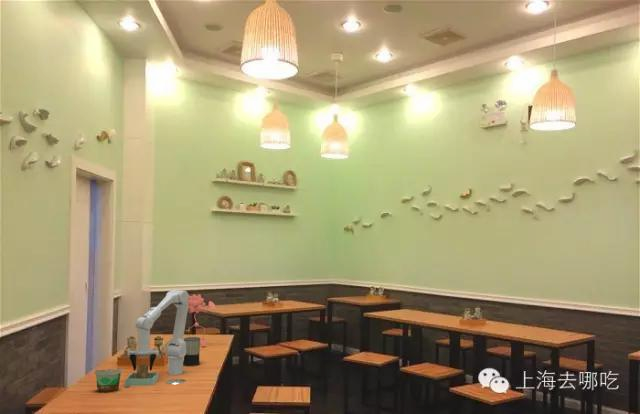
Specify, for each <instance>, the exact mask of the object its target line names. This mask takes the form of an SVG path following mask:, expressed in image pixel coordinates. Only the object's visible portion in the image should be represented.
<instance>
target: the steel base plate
mask: <svg viewBox="0 0 640 414" xmlns="http://www.w3.org/2000/svg"><path fill="white" fill-rule="evenodd" d="M186 382H187V380H186V379H183V378H182V379H181V378H177V379H176V378H174V379H173V378H172V379H168V380H165V382H164V383H165V384H166V385H167V384H168V385H181V384H184V383H186Z"/></svg>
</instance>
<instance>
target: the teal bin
mask: <svg viewBox="0 0 640 414" xmlns="http://www.w3.org/2000/svg"><path fill="white" fill-rule="evenodd" d="M159 374H160V373H159V372H156V371H155V372H148V378H147V379H136V377H137V372H131V373H130V374H129V375H128V376H127V377H126V378H125V387H124V388H130V387H131V386H154V385H155V384H156V383H157V382H158V380H159V378H160V377H159Z"/></svg>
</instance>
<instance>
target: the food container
mask: <svg viewBox="0 0 640 414" xmlns="http://www.w3.org/2000/svg"><path fill="white" fill-rule="evenodd" d="M122 373H123V369H122V367H120V368H117V369H113V368H109V369H103V370H102V369H100V370H99V369H95V370H94V375H95V377H96V379H95V380H96V389H97V390H96V391H97V392H99V393H113V392H117V391H118V390H119V389H120V381H121V375H122Z"/></svg>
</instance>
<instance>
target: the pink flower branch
mask: <svg viewBox="0 0 640 414" xmlns="http://www.w3.org/2000/svg"><path fill="white" fill-rule="evenodd" d="M204 300H205V299H204V298H203V297H202V295H201V294H199V293H198V294H192V295H189V300H188V311H187V312H189V314H192V313H195V314H194V316H193V317H194V320H195V323H194V324H193V325H192V326H189V327H188V331H190V329H191V328H192V327H195V328H198V327H200V328H203V329H204V330H203V333H205V332H206V331H205V330H206V328H205V327H203V326H201V325H199V324H200V323H199V322H197V319H196V315H197V314H199V313H200V312H203V313H207V312H208V309H209V308H210V309H211V310H213V311H215V310H216V304H215V303H214V302H213V301H211V300H209V302H208V303H207V307H206V310H204V307H205V306H206V302H204ZM200 345H201V346H202V347H203V346H205V347H206V345H207V339H206V338H205V334H203V336H202V337H201V339H200Z"/></svg>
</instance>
